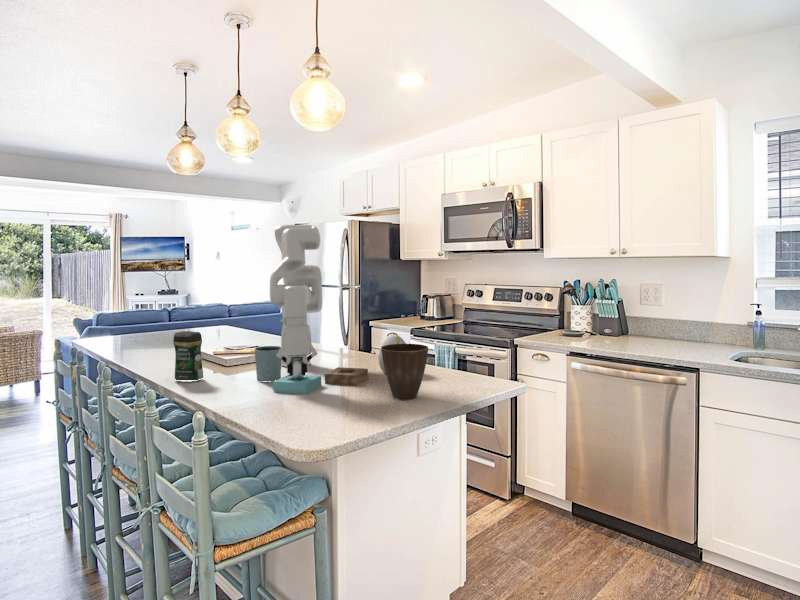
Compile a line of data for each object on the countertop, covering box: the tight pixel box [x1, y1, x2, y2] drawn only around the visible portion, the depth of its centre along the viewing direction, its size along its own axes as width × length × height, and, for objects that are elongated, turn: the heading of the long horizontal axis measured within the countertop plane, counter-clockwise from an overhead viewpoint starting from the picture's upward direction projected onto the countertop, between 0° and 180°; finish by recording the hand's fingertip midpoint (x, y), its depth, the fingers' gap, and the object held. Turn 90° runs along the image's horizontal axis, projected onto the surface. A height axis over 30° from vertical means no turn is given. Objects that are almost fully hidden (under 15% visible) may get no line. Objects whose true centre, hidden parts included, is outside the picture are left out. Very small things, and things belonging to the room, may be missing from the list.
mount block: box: [324, 366, 369, 386], centre depth 184 cm, size 12×12×4 cm
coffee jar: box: [172, 330, 204, 380], centre depth 187 cm, size 10×8×19 cm
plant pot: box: [380, 343, 429, 401], centre depth 160 cm, size 15×15×16 cm
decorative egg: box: [378, 334, 407, 375], centre depth 196 cm, size 12×12×15 cm
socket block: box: [272, 374, 322, 395], centre depth 173 cm, size 12×12×4 cm
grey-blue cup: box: [254, 345, 282, 382], centre depth 187 cm, size 10×10×12 cm
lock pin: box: [291, 356, 304, 381], centre depth 173 cm, size 4×4×10 cm
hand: (297, 374), depth 173 cm, fingers closed on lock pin, 3 cm apart
